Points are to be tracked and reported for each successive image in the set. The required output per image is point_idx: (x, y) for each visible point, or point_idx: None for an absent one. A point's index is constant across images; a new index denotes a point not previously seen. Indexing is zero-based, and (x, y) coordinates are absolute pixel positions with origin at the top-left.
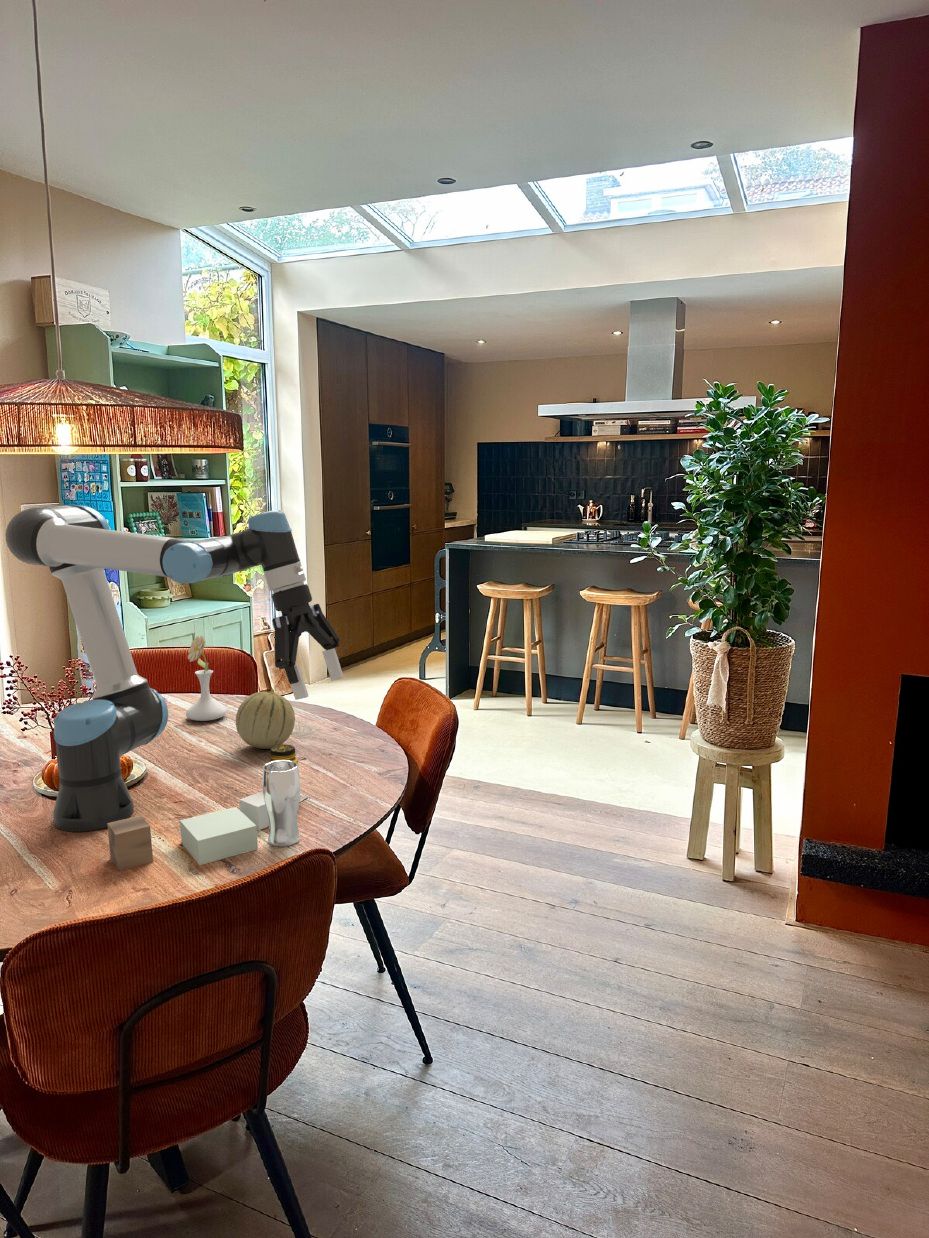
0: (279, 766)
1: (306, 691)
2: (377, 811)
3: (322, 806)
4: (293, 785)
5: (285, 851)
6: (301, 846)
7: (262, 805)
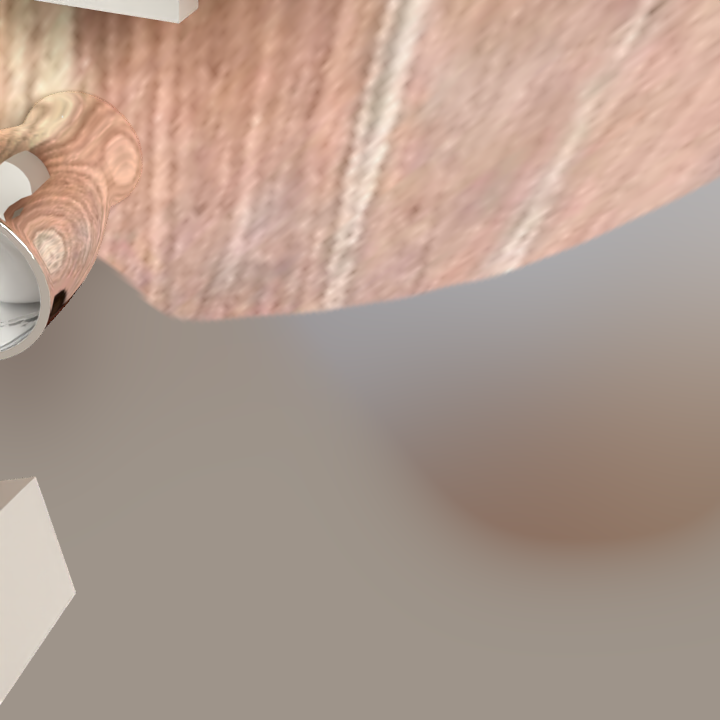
0: (7, 205)
1: (40, 630)
2: (447, 270)
3: (393, 61)
4: (6, 322)
5: None
6: None
7: (57, 3)
